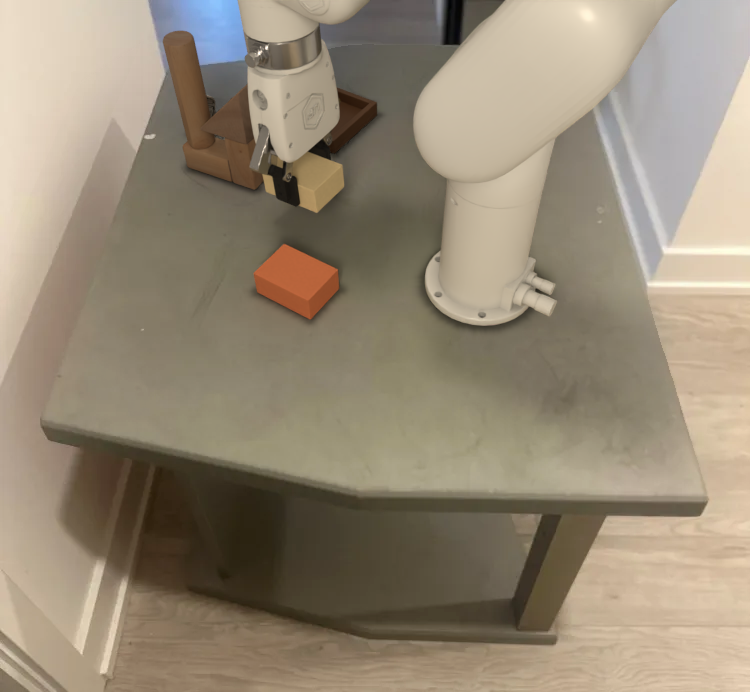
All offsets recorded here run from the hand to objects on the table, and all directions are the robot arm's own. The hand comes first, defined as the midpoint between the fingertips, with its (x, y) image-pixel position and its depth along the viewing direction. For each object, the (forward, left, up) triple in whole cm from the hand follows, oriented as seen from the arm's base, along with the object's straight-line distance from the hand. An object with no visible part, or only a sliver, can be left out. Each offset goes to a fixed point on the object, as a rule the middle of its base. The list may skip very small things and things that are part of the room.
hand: (304, 185), depth 88 cm
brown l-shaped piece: (+15, -2, -6) cm, 16 cm away
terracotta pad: (-6, +10, -6) cm, 13 cm away
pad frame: (+14, -18, -6) cm, 23 cm away
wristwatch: (+24, -8, -6) cm, 26 cm away
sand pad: (0, 0, -1) cm, 1 cm away
